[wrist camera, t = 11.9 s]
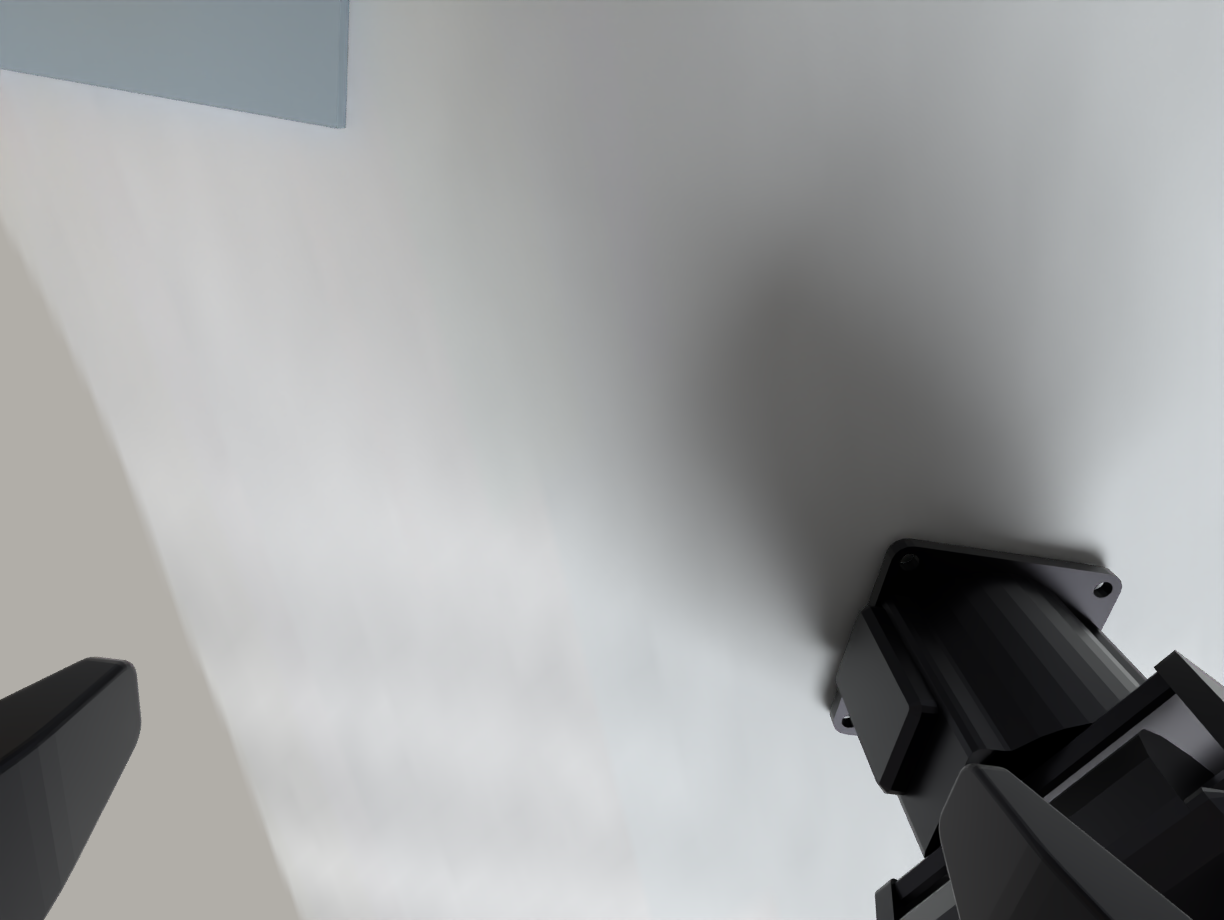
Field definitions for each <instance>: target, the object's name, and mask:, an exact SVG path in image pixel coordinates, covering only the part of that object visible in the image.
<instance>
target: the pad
mask: <svg viewBox="0 0 1224 920" xmlns="http://www.w3.org/2000/svg"><path fill="white" fill-rule="evenodd" d="M348 21H349V0H0V69H3V70H9V71H15V72H20V73H26V74H32V75H37V76H43V77H49V78H54V79H60V80H66V81H71V82H77V83H83V84H88V85H94V86H100V87H105V88H111V89H117V90H122V91H128V92H134V93H139V94H145V95H151V96H156V97H162V98H168V99H173V100H179V101H185V102H190V103H196V104H201V105H207V106H213V107H218V108H224V109H230V110H235V111H241V112H247V113H252V114H258V115H264V116H269V117H275V118H281V119H286V120H292V121H298V122H303V123H309V124H315V125H320V126H326V127H332V128H346V92H347V56H348Z"/></svg>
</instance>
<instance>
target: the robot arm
mask: <svg viewBox="0 0 1224 920" xmlns="http://www.w3.org/2000/svg"><path fill="white" fill-rule="evenodd" d="M908 554H913V557H912V559H911V560H910V561H908V562H905V563H900V561H901V559H902V558H903V557H904V556H906V555H908ZM1102 582H1104V583H1103V585H1102V586H1101V587H1099V588H1098V589H1095V590H1094V588H1095V587H1096V586H1097V585H1098V584H1100V583H1102ZM1121 589H1122V584H1121V580H1120V579H1119V578H1118V577H1117V576H1116V575H1115V574H1113V573H1112V572H1111V571H1110V570H1109V569H1108V568H1105V567H1101V566H1094V565H1088V564H1081V563H1074V562H1067V561H1060V560H1053V559H1046V558H1039V557H1032V556H1025V555H1019V554H1012V553H1005V552H998V551H991V550H984V549H977V548H970V547H963V546H956V545H949V544H943V543H936V542H929V541H922V540H915V539H902V540H899V541H896V542H895V543H893V544H892V545H891V546H890V547H889V549H888V551H887V552H886V555H885V558H884V561H883V563H882V566H881V569H880V572H879V575H878V577H877V580H876V583H875V586H874V589H873V591H872V594H871V597H870V600H869V603H868V605H867V606H865V607H864V608H863V609H862V610H861V611H860V612H859V613H858V616H857V619H856V622H855V625H854V628H853V630H852V633H851V636H850V639H849V642H848V645H847V647H846V650H845V653H844V656H843V659H842V662H841V664H840V667H839V670H838V673H837V676H836V684H837V686H838V690H837V692H836V695H835V698H834V701H833V704H832V706H831V709H830V717H831V719H832V722H833V725H834V727H835V729H836V730H837V731H838V732H840V733H843V734H848V735H856V736H858V738H859V740H860V743H861V745H862V748H863V750H864V752H865V755H866V757H867V760H868V762H869V765H870V767H871V770H872V772H873V775H874V777H875V779H876V782H877V784H878V785H879V786H880V788H881V789H882V790H883V792H884V793H886V794H895V795H897V796H898V798H899V800H900V803H901V805H902V807H903V810H904V812H905V814H906V817H907V819H908V821H909V824H910V826H911V828H912V831H913V833H914V835H915V837H916V840H917V842H918V844H919V847H920V849H921V851H922V854H923V856H924V858H925V859H923V860H922V861H921V862H920V863H918V864H917V865H916V866H915V867H913V868H912V869H911V870H910V871H908V872H907V873H906V874H905V875H904V876H902V877H901V878H900V879H899V880H896V879H891V880H890V881H888V882H887V883H886V884H885V885H883V886H882V887H881V888H880V889H878V890H877V891H876V892H875V902H876V918H877V920H1224V686H1223V685H1221V684H1220V683H1219V682H1217V681H1216V680H1215V679H1213V678H1212V677H1211V676H1209V675H1208V674H1207V673H1205V672H1204V671H1203V670H1201V669H1200V668H1199V667H1197V666H1196V665H1195V664H1193V663H1192V662H1191V661H1189V660H1188V659H1187V658H1185V657H1184V656H1183V655H1181V654H1180V653H1179V652H1177V651H1176V650H1174V651H1173V652H1172V653H1171V654H1169V655H1168V656H1167V657H1166V658H1165V659H1163V660H1162V661H1161V662H1160V663H1158V664H1157V665H1156V666H1155V667H1154V668H1155V670H1156V671H1157V672H1156V673H1155V674H1154V675H1152V676H1151V677H1150V678H1149V679H1146V677H1145V676H1144V675H1143V674H1142V673H1141V672H1140V671H1139V670H1138V669H1137V668H1136V667H1135V666H1134V665H1133V664H1132V663H1131V662H1130V661H1129V660H1128V659H1127V658H1126V657H1125V655H1124V654H1123V653H1122V652H1121V651H1120V650H1119V649H1118V648H1117V647H1116V646H1115V645H1114V644H1113V643H1112V642H1111V641H1110V640H1109V639H1108V638H1107V637H1106V636H1105V635H1104V633H1103V632H1102V631H1101V630H1102V628H1103V626H1104V624H1105V622H1106V620H1107V618H1108V616H1109V614H1110V612H1111V610H1112V608H1113V606H1114V604H1115V602H1116V600H1117V598H1118V596H1119V594H1120V592H1121ZM847 715H849V716H850V718H844V717H845V716H847ZM140 730H141V712H140V702H139V693H138V682H137V674H136V669H135V667H134V666H133V664H132V663H130V662H128V661H126V660H119V659H111V658H102V657H89V658H86V659H83V660H81V661H79V662H77V663H74V664H72V665H71V666H68V667H66V668H64V669H63V670H60V671H58V672H56V673H54V674H52V675H50V676H48V677H46V678H44V679H42V680H40V681H38V682H36V683H34V684H31V685H29V686H27V687H25V688H23V689H21V690H19V691H17V692H15V693H13V694H11V695H9V696H7V697H5V698H3V699H1V700H0V920H44V919H45V917H46V916H47V914H48V912H49V911H50V909H51V907H52V906H53V904H54V902H55V901H56V899H57V897H58V896H59V894H60V892H61V891H62V889H63V887H64V885H65V883H66V882H67V880H68V878H69V876H70V874H71V872H72V870H73V868H74V866H75V865H76V863H77V861H78V859H79V857H80V855H81V853H82V851H83V849H84V847H85V845H86V843H87V841H88V839H89V837H90V835H91V833H92V831H93V829H94V827H95V825H96V823H97V821H98V819H99V817H100V815H101V813H102V811H103V810H104V807H105V806H106V804H107V802H108V799H109V798H110V796H111V794H112V792H113V790H114V788H115V786H116V784H117V782H118V780H119V778H120V776H121V774H122V772H123V770H124V768H125V766H126V764H127V762H128V760H129V758H130V756H131V754H132V752H133V750H134V748H135V746H136V744H137V741H138V738H139V734H140Z"/></svg>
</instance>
